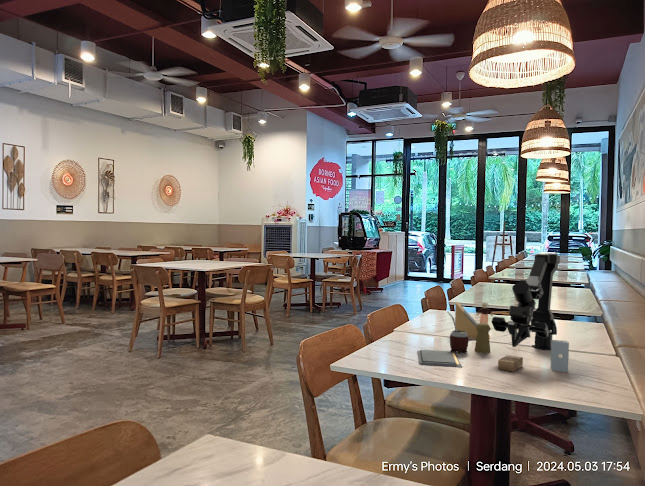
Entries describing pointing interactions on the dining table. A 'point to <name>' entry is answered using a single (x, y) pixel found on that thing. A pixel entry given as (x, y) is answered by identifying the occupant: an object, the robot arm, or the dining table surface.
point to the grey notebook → (438, 358)
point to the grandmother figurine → (484, 313)
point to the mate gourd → (458, 340)
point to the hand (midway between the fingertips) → (513, 346)
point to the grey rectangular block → (559, 355)
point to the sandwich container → (465, 321)
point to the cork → (482, 338)
